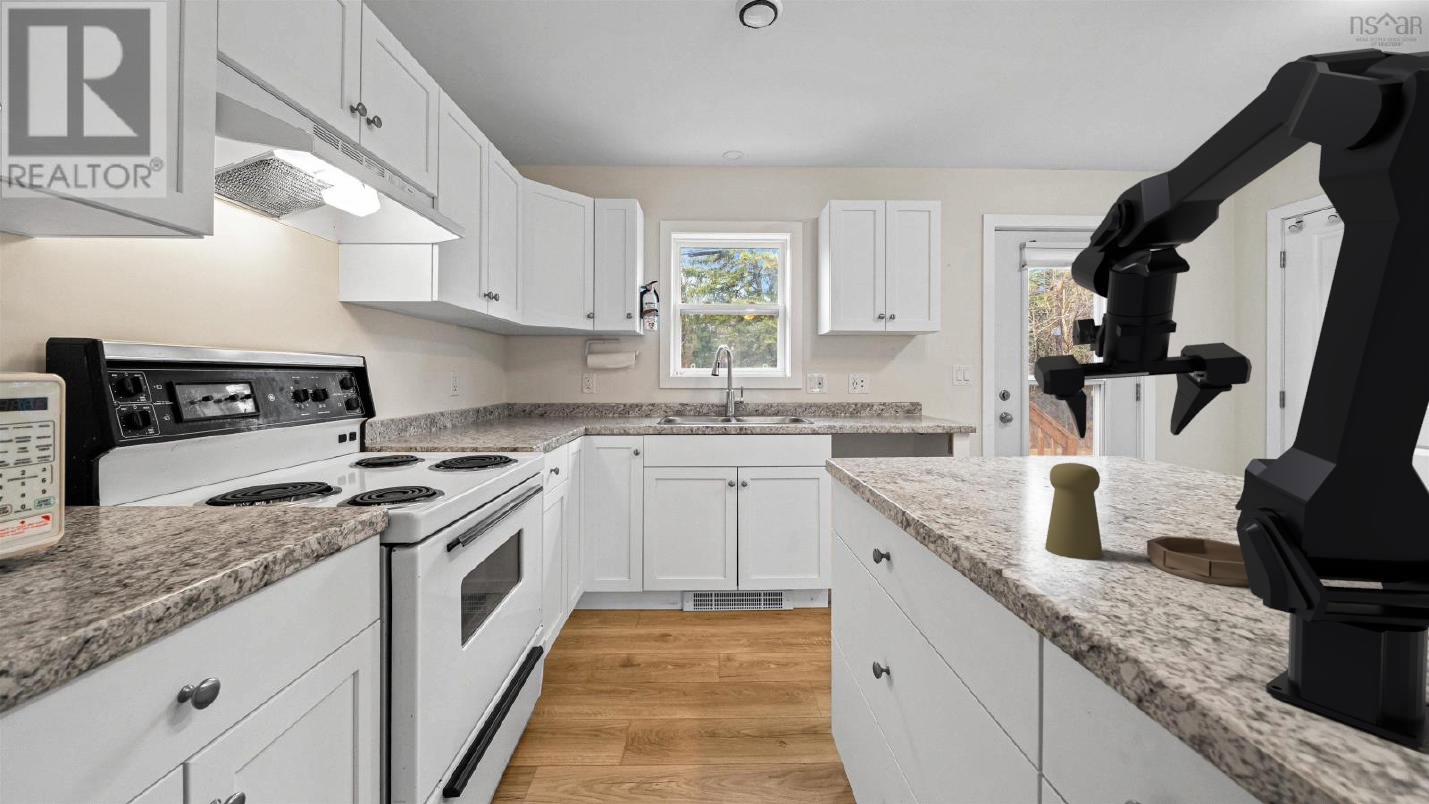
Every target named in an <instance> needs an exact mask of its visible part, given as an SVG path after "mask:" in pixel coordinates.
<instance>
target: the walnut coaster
mask: <svg viewBox="0 0 1429 804" xmlns="http://www.w3.org/2000/svg"><path fill="white" fill-rule="evenodd" d="M1146 555H1147V556H1149V557H1150V563H1151V565H1152V566H1154V568H1157V569H1158V570H1161V571H1162V572H1164V573H1165V572H1166V573H1168V574H1171V575H1174V576H1178V577H1181V578H1185V579H1187V580H1193V581H1196V582H1202V583H1207V584H1213V585H1219V586H1228V587H1229V586H1230V587H1242V588H1243V587H1245V588H1250V585H1249V581H1248V577H1247V573H1246V569H1245V565H1244V560H1243V556H1242V552H1241V548H1240V544H1236V543H1235V544H1234V543H1229V542H1223V541H1220V540H1215V539H1214V540H1213V539H1209V538H1202V537H1188V536H1187V537H1186V536H1171V535H1164V536H1163V535H1161V536H1158V537H1155V538H1151V539H1148V540H1147V541H1146Z"/></svg>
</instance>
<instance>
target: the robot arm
mask: <svg viewBox="0 0 1429 804" xmlns="http://www.w3.org/2000/svg"><path fill="white" fill-rule="evenodd" d="M1310 143H1312V144H1315V145H1319V146H1320V155H1319V167H1318V168H1319V171H1318V183H1319V186H1320V187H1321V189H1322V190H1323V192H1324V193H1325V195H1326V197H1327V198H1328V200H1329V201H1330V204H1331V205H1332V207H1333V208H1334V210H1335V211H1336V213H1337V215H1338V216H1339V218H1340V219H1341V222H1343V233H1342V239H1341V242H1340V248H1339V252H1338V256H1337V260H1336V263H1335V264H1336V265H1335V268H1334V273H1333V278H1332V281H1331V286H1330V289H1329V294H1328V299H1327V303H1326V307H1325V312H1324V316H1323V320H1322V324H1321V327H1320V331H1319V338H1318V341H1317V345H1316V350H1315V354H1314V358H1313V362H1312V366H1311V370H1310V376H1309V378H1308V383H1307V388H1306V392H1305V397H1304V401H1303V406H1302V409H1301V415H1300V418H1299V422H1298V426H1297V431H1296V435H1295V439H1294V441H1293V444H1292V445H1291V446H1290V447H1289V448H1288V449H1287V450H1285V451H1284V452H1283V453H1282V454H1281V455H1280V456H1278V457H1277V458H1253V459H1251V460H1250V462H1249V463H1248V464H1247V466H1246V467H1245V469H1244V476H1243V477H1244V479H1243V487H1242V492H1241V495H1240V498H1239V499H1238V501H1237V502H1236V504H1235V505H1234V508H1235V510H1237V511H1240V512H1239V513H1240V514H1239V517H1238V519H1237V523H1236V527H1235V530H1236V534H1237V539H1238V543H1239V544H1238V545H1240V548H1241V552H1242V556H1243V560H1244V565H1245V569H1246V573H1247V577H1248V581H1249V585H1250V587H1249V589H1250V592H1251V594H1252V595H1253V596H1254V597H1257V598H1259V599H1260V600H1262V606H1265V607H1267V608H1269V609H1271V610H1274V611H1279V612H1284V613H1287V614H1289V622H1288V656H1287V658H1288V663H1287V664H1288V665H1287V669H1286V670H1285V671H1283V672H1282V673H1280V674H1279V675H1277V676H1276V677H1274V678H1273V679H1271V680H1270V681H1268V682H1267V683H1266V684H1265V692H1266V693H1267V694H1269V695H1271V696H1273V697H1275V698H1279V699H1281V700H1284V701H1286V702H1289V703H1292V704H1294V705H1298V706H1301V707H1303V708H1306V709H1308V710H1312V711H1315V712H1317V713H1319V714H1322V715H1325V716H1328V717H1331V718H1333V719H1336V720H1339V721H1342V722H1344V723H1347V724H1349V725H1352V726H1355V727H1357V728H1360V729H1363V730H1367V731H1369V732H1372V733H1373V734H1377V735H1379V736H1382V737H1385V738H1388V739H1391V740H1394V741H1396V742H1400V743H1401V744H1405V745H1407V746H1411V747H1414V748H1421V749H1422V748H1424V747H1425V746H1426V744H1428V742H1429V701H1427V686H1428V685H1427V683H1428V681H1427V679H1428V678H1427V677H1428V654H1429V653H1428V651H1429V650H1428V649H1429V489H1428V488H1427V486H1426V484H1425V482H1424V481H1423V479H1422V478H1421V476H1420V475H1419V473H1418V472H1417V470H1416V468H1415V466H1414V465H1413V463H1414V454H1415V451H1416V448H1417V444H1418V441H1419V437H1420V434H1421V431H1422V428H1423V424H1424V421H1425V417H1426V414H1427V411H1428V407H1429V50H1427V51H1426V50H1425V51H1416V52H1407V53H1406V52H1396V51H1386V50H1383V51H1382V50H1381V49H1379V48H1378V49H1377V48H1374V47H1371V48H1360V49H1351V50H1343V51H1335V52H1334V51H1333V52H1325V53H1324V52H1323V53H1316V54H1315V53H1314V54H1306V55H1305V56H1300V57H1299V58H1297V59H1296V60H1294V61H1293V60H1292V61H1288V62H1287V63H1285V64H1283V65H1282V66H1280V67H1279V68H1278V69H1277V71H1276V72H1275V73H1274V74H1273V75H1272V76H1271V78H1270V80H1269V82H1268V84H1267V85H1266V88H1265V89H1264V90H1263V91H1262V92H1260V94H1259V95H1258V96H1256V97H1255V98H1253V100H1252V101H1251V102H1250V103H1248V104H1247V105H1246V106H1245V107H1244V108H1242V110H1240V111H1239V112H1238V113H1237V114H1236V115H1234V116H1233V117H1232V118H1230V120H1229V121H1228V122H1226V123H1225V124H1224V125H1222V127H1220V128H1219V129H1218V130H1217V131H1216V132H1215V133H1214V134H1213V135H1211V136H1210V137H1209V138H1208V139H1207V140H1206V141H1204V143H1202V144H1201V145H1200V146H1199V147H1197V149H1195V150H1194V151H1193V152H1192V153H1190V154H1189V155H1188V156H1187V157H1186V158H1184V160H1183V161H1181V162H1180V163H1179V164H1178V165H1176V166H1175V167H1173V168H1171V169H1170V170H1166V171H1165V172H1162V173H1158V174H1156V175H1153V176H1150V177H1147V178H1144V179H1142V180H1140V181H1139V182H1137V183H1135V184H1134V185H1132V186H1130V187H1129V188H1127V189H1126V190H1124V191H1123V192H1122V193H1121V194H1119V197H1118V198H1117V199H1116V200H1115V202H1114V203H1113V204H1112V205H1111V207H1110V208H1109V210H1108V212H1107V213H1106V215H1105V217H1104V219H1103V220H1102V221H1101V223H1100V224H1099V225H1098V227H1097V228H1096V229H1095V230H1094V232H1092V234H1091V235H1090V237H1089V240H1090V243H1089V244H1088V246H1086V247H1085V248H1084V249H1083V250H1081V251H1080V252H1079V254H1078V255H1076V257H1075V259H1074V261H1073V262H1072V264H1071V267H1070V275H1071V277H1072V279H1073V281H1074V283H1075V284H1077V285H1078V286H1079V287H1081V288H1083V289H1085V290H1088V291H1090V292H1092V293H1094V294H1096V295H1097V296H1100V297H1101V298H1104V299H1107V301H1106V313H1103V315H1102V319H1101V324H1099V325H1098V324H1096V322H1095V319H1094V318H1092V317H1090V318H1083V319H1081V318H1080V319H1074V320H1072V321H1073V323H1072V324H1073V325H1072V343H1073V345H1074V346H1083V345H1084V346H1085V345H1089V350H1090V352H1094V355H1095V356H1096V357H1097V358H1102V361H1099V362H1085V363H1080V361H1078V359H1076V357H1075V356H1074V354H1062V355H1050V356H1040V357H1039V358H1038V359H1037V360H1036V362H1035V363H1034V364H1033V365H1034V366H1033V367H1034V370H1033V372H1034V373H1033V374H1034V375H1033V377H1034V378H1033V379H1035V381H1036V384H1038V386H1039V388H1040V390H1041V391H1042V393H1043V395H1044V394H1045V395H1048V396H1054V398H1055V400H1057V401H1065V404H1066V405H1067V408H1068V410H1069V413H1070V416H1071V418H1072V422H1073V423H1074V426H1075V429H1076V432H1077V435H1078V437H1079V438H1080V439H1085V438H1086V437H1085V436H1086V434H1087V412H1088V411H1087V404H1088V403H1087V394H1086V393H1085V391H1084V390H1083V388H1085V382H1086V381H1088V380H1089V381H1090V380H1103V379H1104V380H1105V379H1106V380H1107V379H1120V378H1121V379H1122V378H1133V377H1148V376H1149V377H1150V376H1166V375H1176V383H1177V386H1176V387H1177V388H1176V393H1175V398H1174V402H1173V407H1172V412H1171V417H1170V424H1169V425H1170V426H1169V427H1170V429H1169V430H1170V431H1169V432H1170V433H1171V434H1172V436H1179V435H1180V434H1181V433H1182V432H1183V430H1185V429H1186V427H1187V426H1188V425H1189V424H1190V423H1191V421H1193V420H1194V419H1195V417H1196V416H1197V415H1199V413H1200V412H1201V411H1202V410H1203V409H1204V408H1205V407H1206V406H1208V405H1209V404H1210V403H1211V402H1212V401H1213V400H1214V399H1216V398H1217V397H1218V396H1219V395H1221V393H1224V392H1225V393H1226V392H1231V391H1232V389H1233V385H1244V384H1247V383H1249V382H1250V381H1251V374H1252V368H1253V366H1252V362H1251V359H1249V357H1247V356H1245V355H1244V354H1242V353H1241V352H1239V351H1237V350H1236V349H1234V348H1233V347H1232V346H1229V345H1228V344H1226V343H1225V342H1214V343H1212V342H1211V343H1201V344H1199V343H1198V344H1187V345H1186V344H1185V346H1184V347H1183V348H1181V350H1180V356H1179V355H1178V356H1169V355H1168V353H1169V345H1170V338H1171V333H1174V334H1175V333H1176V331H1177V327H1178V325H1177V324H1178V323H1177V322H1176V321H1174V320H1173V314H1174V313H1173V312H1174V306H1175V296H1176V289H1177V282H1178V281H1177V280H1178V274H1182V273H1188V272H1189V271H1190V269H1191V267H1190V264H1189V263H1188V260H1187V259H1185V258H1184V257H1183V256H1181V255H1180V254H1179V253H1178V251H1177V249H1176V248H1178V247H1180V246H1181V245H1185V244H1190V243H1192V242H1194V241H1195V240H1196V239H1198V238H1199V237H1200V236H1201V235H1202V234H1203V233H1204V232H1205V231H1206V230H1208V228H1209V227H1211V226H1212V225H1213V224H1214V223H1215V222H1216V221H1218V220H1219V218H1220V217H1219V216H1220V214H1219V213H1220V205H1222V204H1223V203H1224V202H1225V201H1226V200H1227V199H1228V198H1229V197H1231V196H1233V195H1234V194H1235V193H1237V192H1238V191H1240V190H1242V189H1243V188H1244V187H1246V186H1248V185H1249V184H1250V183H1252V182H1253V181H1255V180H1256V179H1258V178H1259V177H1260V176H1262V175H1263V174H1265V173H1267V172H1268V171H1269V170H1271V169H1272V168H1274V167H1275V166H1276V165H1278V164H1280V163H1281V162H1282V161H1284V160H1285V159H1287V158H1288V157H1290V156H1291V155H1292V154H1294V153H1295V152H1297V151H1298V150H1300V149H1302V148H1303V147H1304V146H1306V145H1307V144H1310ZM1321 580H1323V581H1342V582H1358V583H1359V582H1360V583H1378V584H1380V585H1381V588H1375V587H1373V588H1370V587H1369V588H1368V587H1358V586H1357V587H1351V586H1338V585H1337V586H1333V585H1324V584H1323V583H1322V581H1321Z"/></svg>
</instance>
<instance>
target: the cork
mask: <svg viewBox="0 0 1429 804" xmlns="http://www.w3.org/2000/svg"><path fill="white" fill-rule="evenodd" d="M1049 482H1050V485H1051V486H1052V487H1053V489H1054V491H1053V499H1052V503H1051V509H1050V515H1049V523H1048V528H1047V534H1046V541H1045V547H1044V548H1045V549H1044V550H1045V551H1047V552H1049V553H1051V554H1053V555H1056V556H1060V557H1064V558H1069V559H1078V560H1098V559H1102V558H1103V557H1104V554H1103V553H1104V552H1103V546H1102V539H1101V532H1100V525H1099V520H1098V519H1099V518H1098V511H1097V510H1098V509H1097V505H1096V497H1095V492H1096V491H1097V490H1098V489H1099V487H1100V484H1101V477H1100V474H1099V472H1098V470H1097V469H1096V468H1095V467H1094V466H1091V465H1088V464H1084V463H1079V462H1063V463H1058V464H1057V463H1056V464H1055V465H1053V466H1052V468H1051V469H1050V472H1049Z"/></svg>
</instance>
